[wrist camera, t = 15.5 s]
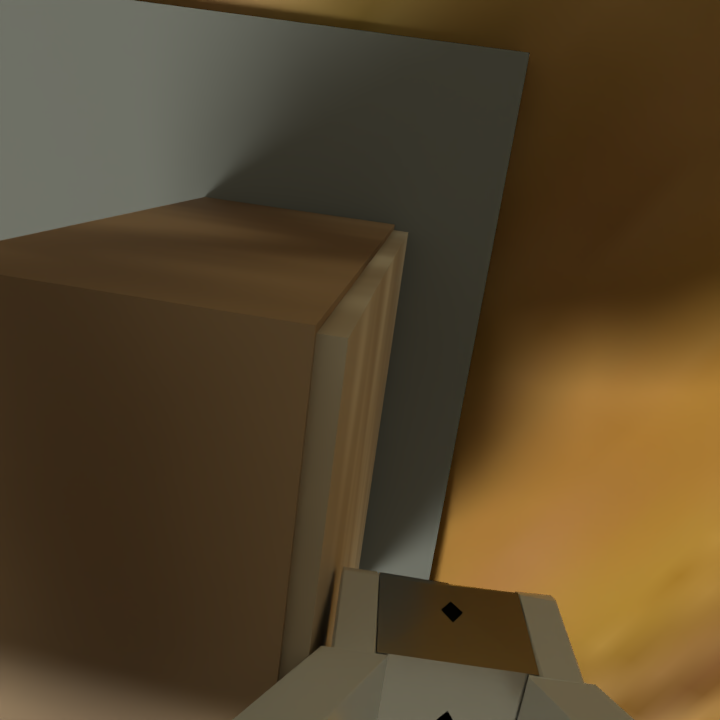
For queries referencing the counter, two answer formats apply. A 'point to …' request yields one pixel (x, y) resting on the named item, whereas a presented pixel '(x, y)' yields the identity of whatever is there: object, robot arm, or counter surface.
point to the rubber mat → (283, 176)
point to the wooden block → (184, 452)
